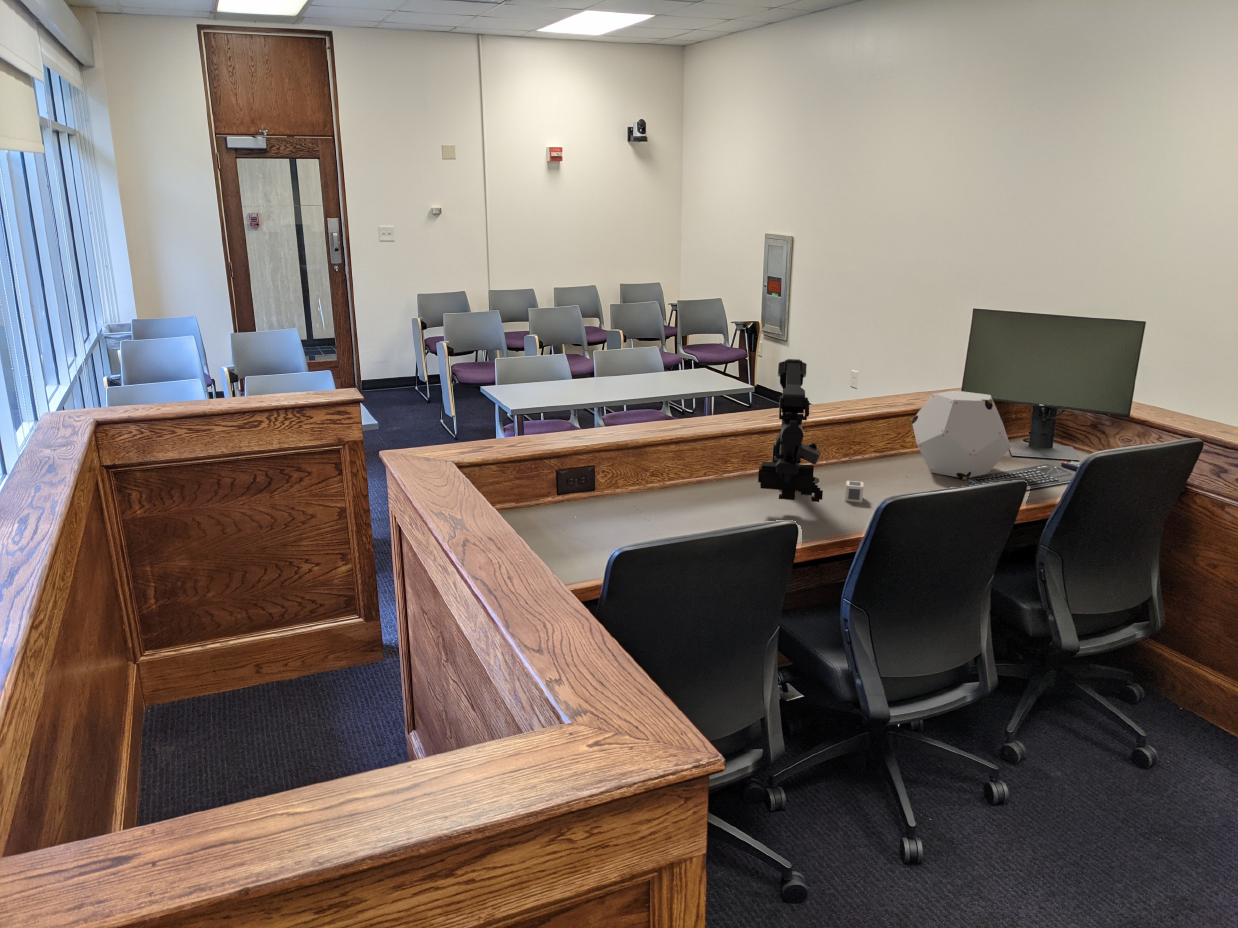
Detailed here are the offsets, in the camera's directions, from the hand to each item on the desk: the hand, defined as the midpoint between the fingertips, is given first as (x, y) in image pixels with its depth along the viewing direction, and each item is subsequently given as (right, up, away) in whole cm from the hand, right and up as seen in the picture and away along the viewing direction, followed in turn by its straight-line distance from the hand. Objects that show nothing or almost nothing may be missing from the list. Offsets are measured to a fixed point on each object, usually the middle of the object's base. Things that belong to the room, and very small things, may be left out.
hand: (787, 488), depth 254 cm
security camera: (+1, -3, +1) cm, 3 cm away
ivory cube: (+23, -4, +13) cm, 26 cm away
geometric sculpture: (+65, +4, +41) cm, 77 cm away
